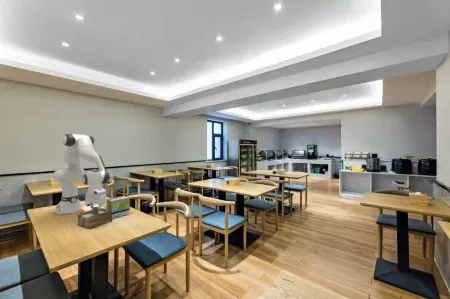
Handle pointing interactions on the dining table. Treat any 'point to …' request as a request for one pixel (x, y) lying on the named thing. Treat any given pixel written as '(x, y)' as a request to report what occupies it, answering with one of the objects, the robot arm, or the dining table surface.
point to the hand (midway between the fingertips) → (95, 208)
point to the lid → (92, 213)
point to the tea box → (119, 206)
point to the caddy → (95, 219)
